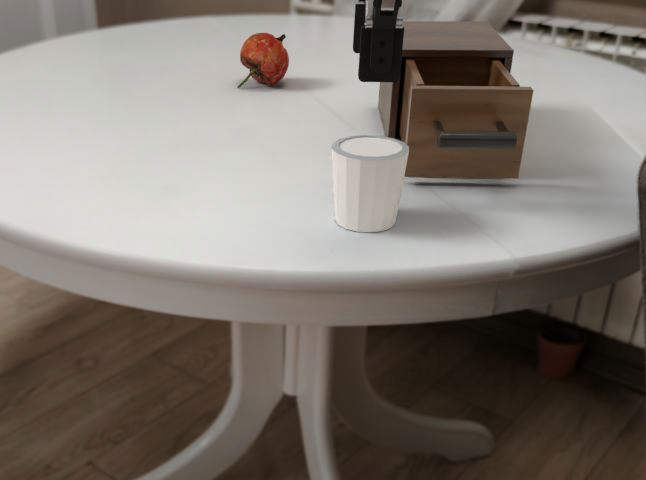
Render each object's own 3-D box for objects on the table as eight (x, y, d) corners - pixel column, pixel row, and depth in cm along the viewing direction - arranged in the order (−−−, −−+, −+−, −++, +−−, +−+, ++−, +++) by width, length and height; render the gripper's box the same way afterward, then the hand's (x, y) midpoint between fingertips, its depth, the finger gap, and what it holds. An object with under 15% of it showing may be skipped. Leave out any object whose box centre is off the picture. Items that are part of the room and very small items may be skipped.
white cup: (417, 218, 75) (425, 145, 71) (373, 242, 70) (379, 165, 67) (357, 199, 79) (362, 128, 75) (312, 220, 74) (315, 146, 71)
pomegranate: (261, 110, 112) (313, 59, 111) (228, 69, 108) (281, 16, 108) (244, 102, 118) (292, 53, 118) (212, 63, 114) (262, 13, 114)
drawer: (530, 200, 76) (548, 106, 71) (409, 198, 76) (418, 105, 72) (491, 133, 93) (503, 54, 88) (391, 132, 93) (398, 53, 89)
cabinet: (498, 147, 92) (514, 50, 86) (387, 145, 92) (395, 49, 86) (475, 107, 105) (487, 21, 99) (377, 106, 105) (384, 20, 100)
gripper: (464, -182, 50) (432, 95, 60) (430, -178, 65) (409, 44, 74) (344, -182, 51) (331, 93, 60) (337, -178, 65) (327, 43, 75)
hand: (374, 66), depth 67 cm, fingers open, 9 cm apart
